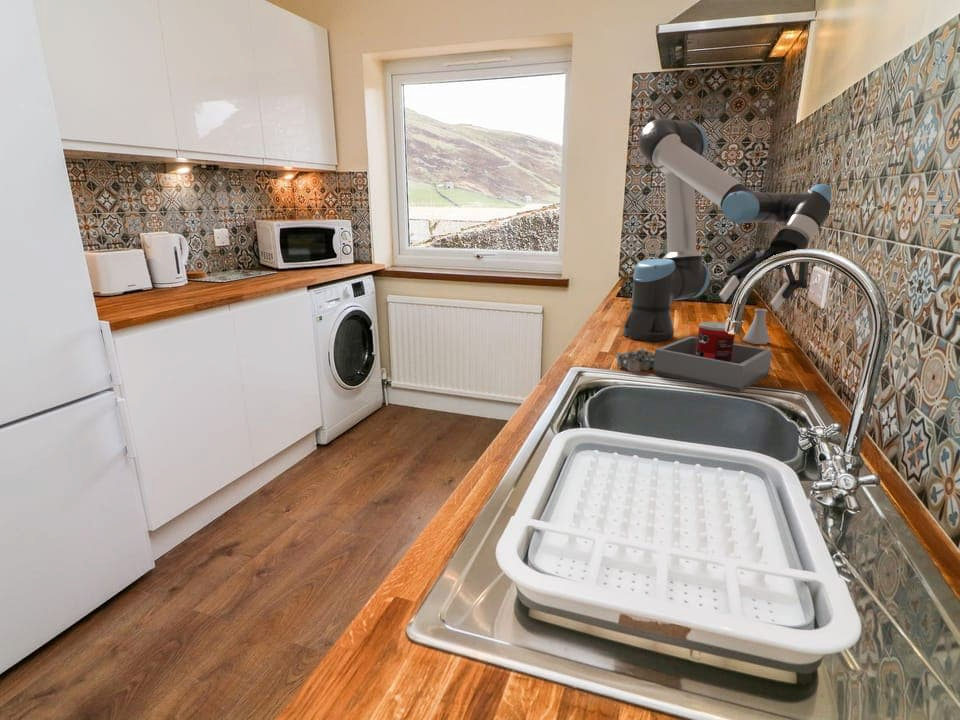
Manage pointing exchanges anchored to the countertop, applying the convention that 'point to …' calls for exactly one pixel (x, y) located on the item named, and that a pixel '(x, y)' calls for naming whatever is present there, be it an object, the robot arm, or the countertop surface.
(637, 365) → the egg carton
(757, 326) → the flask
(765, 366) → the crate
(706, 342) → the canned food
